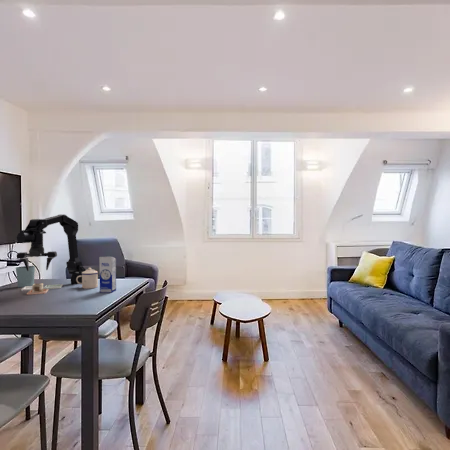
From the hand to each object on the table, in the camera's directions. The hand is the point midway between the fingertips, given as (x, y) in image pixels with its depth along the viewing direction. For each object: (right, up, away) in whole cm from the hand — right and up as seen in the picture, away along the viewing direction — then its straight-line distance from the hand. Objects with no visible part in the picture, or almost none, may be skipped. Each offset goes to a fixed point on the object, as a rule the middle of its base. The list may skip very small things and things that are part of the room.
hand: (37, 270), depth 188 cm
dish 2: (0, -13, 0) cm, 13 cm away
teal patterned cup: (-18, -13, +21) cm, 30 cm away
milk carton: (+37, -12, +5) cm, 39 cm away
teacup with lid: (+21, -12, +16) cm, 29 cm away
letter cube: (0, -12, 0) cm, 12 cm away
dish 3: (+1, -12, +14) cm, 19 cm away
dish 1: (-9, -12, +11) cm, 19 cm away
